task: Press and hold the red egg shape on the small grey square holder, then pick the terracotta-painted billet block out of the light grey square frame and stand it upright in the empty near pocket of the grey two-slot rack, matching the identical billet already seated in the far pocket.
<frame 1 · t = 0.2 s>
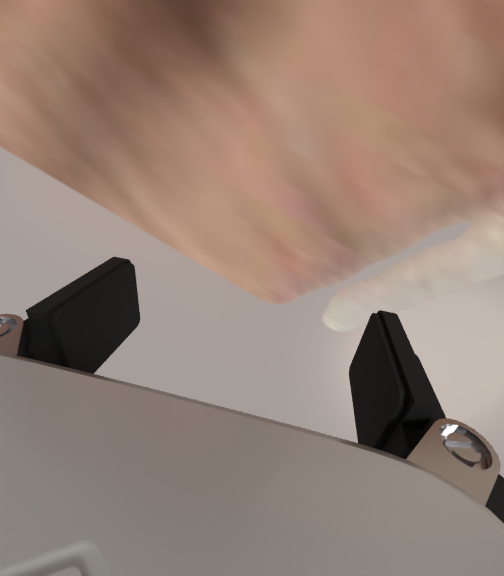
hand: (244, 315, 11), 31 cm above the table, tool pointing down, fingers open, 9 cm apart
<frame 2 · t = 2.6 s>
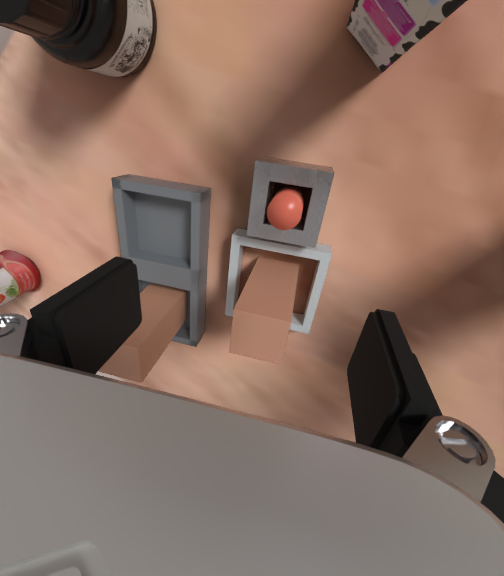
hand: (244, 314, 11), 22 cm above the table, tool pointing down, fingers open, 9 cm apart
red egg shape: (286, 207, 26), point 5 cm above the table, slide at 0.0 cm
grey square holder: (290, 197, 30), on the table
grey two-slot rack: (171, 263, 37), on the table
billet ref: (169, 300, 39), point 1 cm above the table, touching grey two-slot rack
ink bottle: (115, 19, 26), on the table
liquor: (27, 267, 43), on the table
billet: (275, 278, 35), resting in light grey square frame
light grey square frame: (275, 278, 35), on the table
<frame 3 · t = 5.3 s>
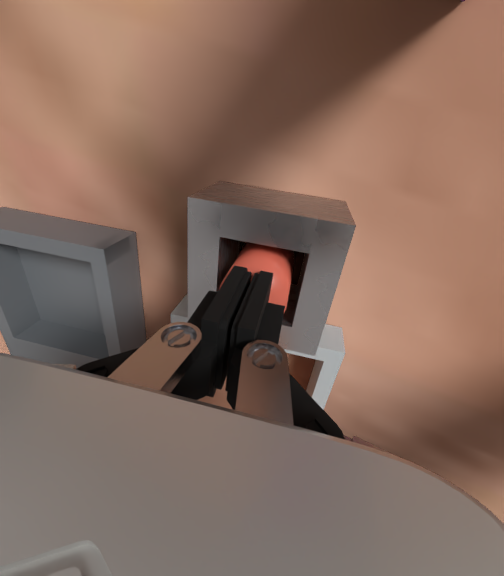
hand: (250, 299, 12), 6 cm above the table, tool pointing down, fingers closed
red egg shape: (261, 276, 14), point 4 cm above the table, slide at 1.2 cm, touching gripper
grey square holder: (271, 250, 17), on the table
grey two-slot rack: (93, 337, 24), on the table
billet: (252, 366, 22), resting in light grey square frame
light grey square frame: (252, 367, 22), on the table
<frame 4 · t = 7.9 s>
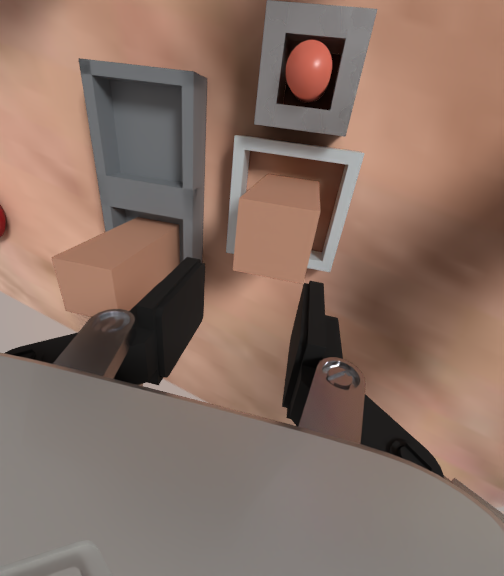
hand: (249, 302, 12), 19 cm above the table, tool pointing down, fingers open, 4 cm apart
red egg shape: (309, 75, 20), point 4 cm above the table, slide at 1.2 cm
grey square holder: (310, 83, 23), on the table
grey two-slot rack: (160, 191, 30), on the table
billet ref: (159, 241, 33), point 1 cm above the table, touching grey two-slot rack
billet: (288, 203, 28), resting in light grey square frame
light grey square frame: (288, 203, 28), on the table
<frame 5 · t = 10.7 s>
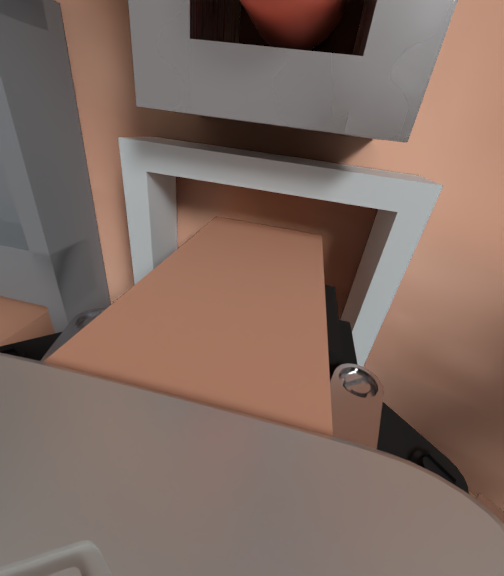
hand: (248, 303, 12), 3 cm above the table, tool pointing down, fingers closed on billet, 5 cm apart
grey square holder: (300, 4, 9), on the table
grey two-slot rack: (24, 242, 16), on the table
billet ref: (38, 324, 18), point 1 cm above the table, touching grey two-slot rack
billet: (260, 273, 14), resting in light grey square frame, touching gripper
light grey square frame: (260, 273, 14), on the table
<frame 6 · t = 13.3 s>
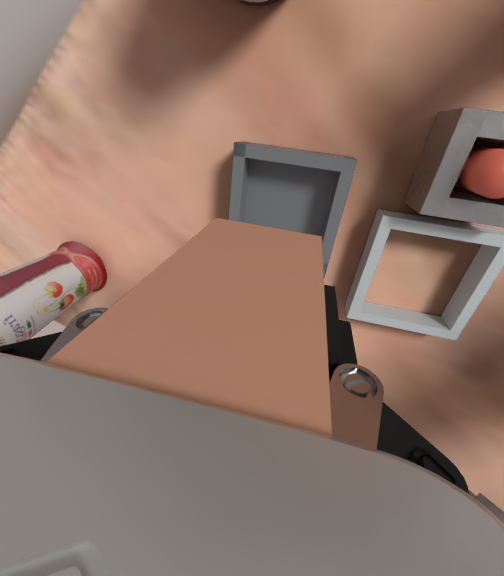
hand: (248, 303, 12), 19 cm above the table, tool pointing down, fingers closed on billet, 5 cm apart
red egg shape: (485, 171, 20), point 4 cm above the table, slide at 1.2 cm
grey square holder: (463, 166, 23), on the table
grey two-slot rack: (277, 255, 30), on the table
liquor: (89, 262, 36), on the table
billet: (260, 274, 14), point 16 cm above the table, touching gripper
light grey square frame: (414, 271, 28), on the table
when the fingers open (5 cm above the table, at t = 16.1 s): billet drops 1 cm, resting on grey two-slot rack.
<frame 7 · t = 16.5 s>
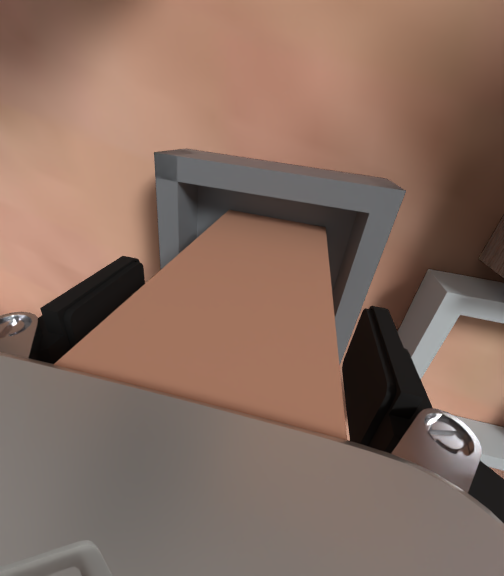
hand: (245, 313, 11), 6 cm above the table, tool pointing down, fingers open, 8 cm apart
grey two-slot rack: (255, 330, 19), on the table
billet: (268, 262, 15), point 1 cm above the table, touching grey two-slot rack
light grey square frame: (483, 367, 17), on the table
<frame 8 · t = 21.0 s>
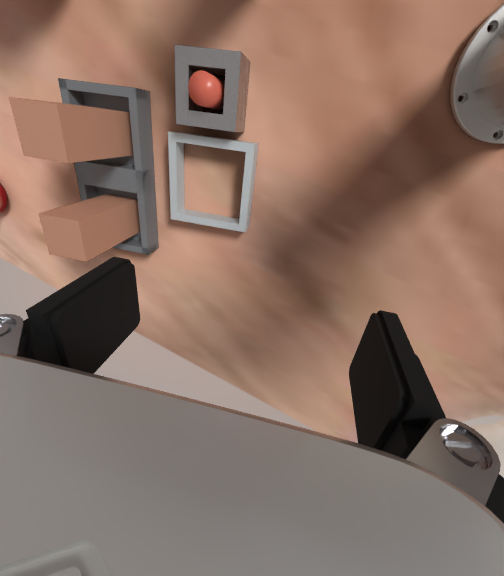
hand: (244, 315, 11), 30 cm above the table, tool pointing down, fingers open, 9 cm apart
red egg shape: (209, 91, 31), point 4 cm above the table, slide at 1.2 cm
grey square holder: (218, 95, 34), on the table
grey two-slot rack: (122, 174, 41), on the table
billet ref: (123, 213, 43), point 1 cm above the table, touching grey two-slot rack
billet: (115, 131, 37), point 1 cm above the table, touching grey two-slot rack
light grey square frame: (214, 182, 39), on the table
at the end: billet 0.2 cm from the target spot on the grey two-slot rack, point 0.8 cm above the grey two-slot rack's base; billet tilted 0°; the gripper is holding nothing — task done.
